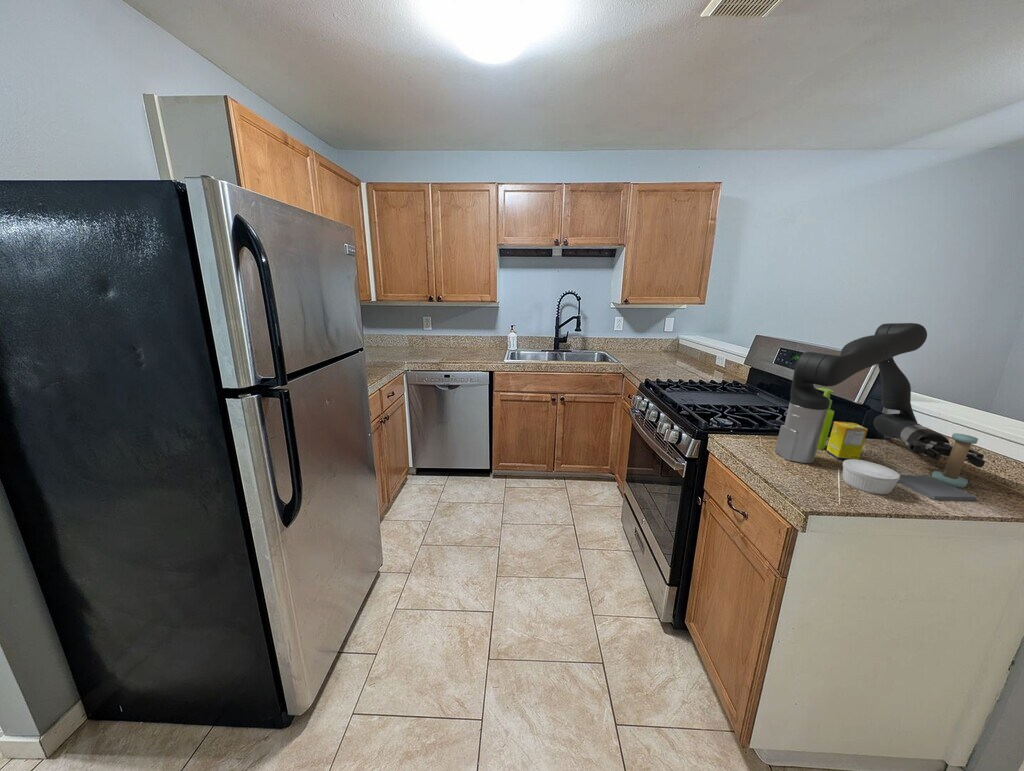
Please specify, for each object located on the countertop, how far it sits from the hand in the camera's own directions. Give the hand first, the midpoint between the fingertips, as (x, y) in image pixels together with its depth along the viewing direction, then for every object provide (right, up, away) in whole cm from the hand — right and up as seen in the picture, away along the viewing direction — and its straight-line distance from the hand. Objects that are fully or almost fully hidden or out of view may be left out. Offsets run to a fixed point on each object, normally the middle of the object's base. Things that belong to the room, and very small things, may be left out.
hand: (959, 460), depth 99 cm
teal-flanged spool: (0, -6, +3) cm, 7 cm away
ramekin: (-27, -7, -1) cm, 28 cm away
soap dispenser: (-19, 0, +26) cm, 32 cm away
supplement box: (-17, -2, +17) cm, 24 cm away
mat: (-10, -7, -1) cm, 12 cm away
